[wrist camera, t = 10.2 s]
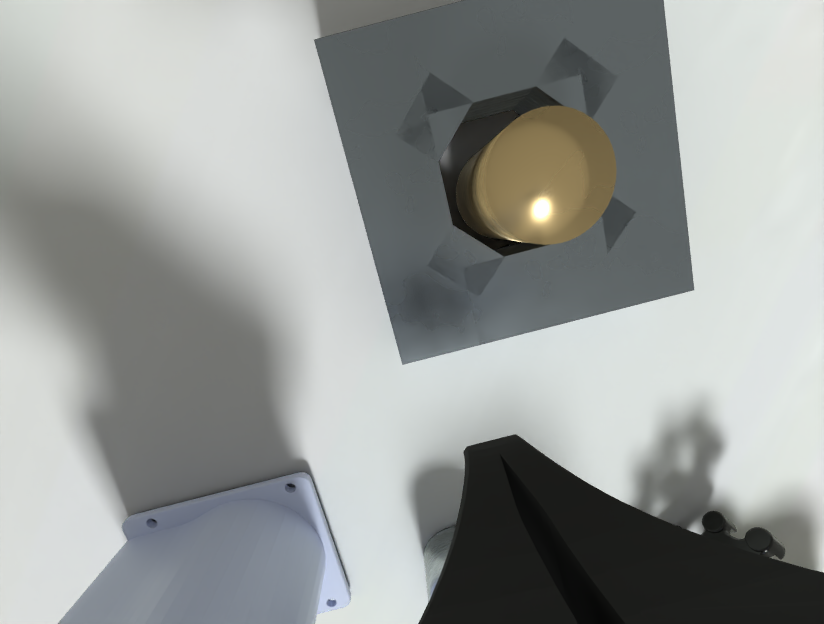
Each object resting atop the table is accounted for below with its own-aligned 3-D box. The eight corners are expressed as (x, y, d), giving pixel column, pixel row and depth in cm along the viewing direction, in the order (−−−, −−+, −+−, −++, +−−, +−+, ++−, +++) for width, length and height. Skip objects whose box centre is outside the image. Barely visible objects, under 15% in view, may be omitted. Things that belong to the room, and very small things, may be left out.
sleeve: (453, 591, 23) (467, 673, 19) (409, 554, 22) (414, 631, 18) (504, 554, 22) (529, 628, 18) (461, 514, 21) (477, 584, 17)
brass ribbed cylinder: (466, 248, 19) (499, 258, 13) (447, 157, 18) (473, 124, 12) (551, 226, 19) (624, 227, 13) (536, 135, 18) (607, 91, 12)
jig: (401, 343, 19) (402, 364, 17) (327, 71, 17) (314, 39, 14) (648, 280, 19) (694, 290, 16) (611, -3, 17) (658, -52, 14)
